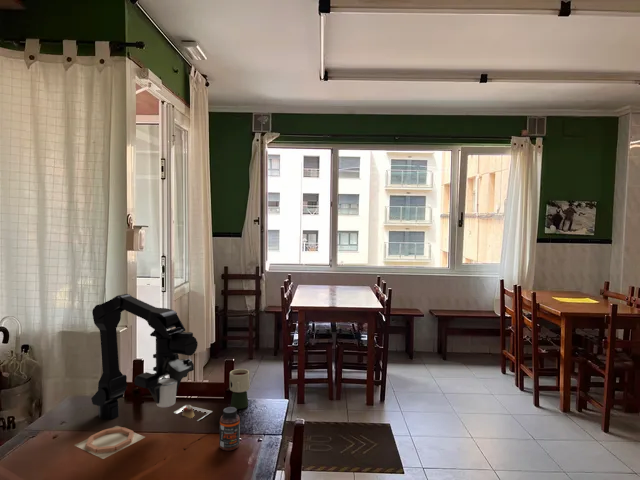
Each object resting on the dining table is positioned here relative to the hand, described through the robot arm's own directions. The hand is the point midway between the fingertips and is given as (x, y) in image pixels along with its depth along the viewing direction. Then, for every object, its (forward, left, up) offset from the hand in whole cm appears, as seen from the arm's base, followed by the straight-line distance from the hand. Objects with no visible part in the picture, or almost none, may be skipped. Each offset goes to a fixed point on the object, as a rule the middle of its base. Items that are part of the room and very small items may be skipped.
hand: (165, 399), depth 136 cm
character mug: (+7, +27, -12) cm, 30 cm away
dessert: (-3, +12, -12) cm, 17 cm away
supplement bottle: (+22, +5, -12) cm, 25 cm away
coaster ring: (-9, -13, -10) cm, 19 cm away
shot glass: (0, 0, -1) cm, 1 cm away
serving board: (-9, -13, -11) cm, 19 cm away
